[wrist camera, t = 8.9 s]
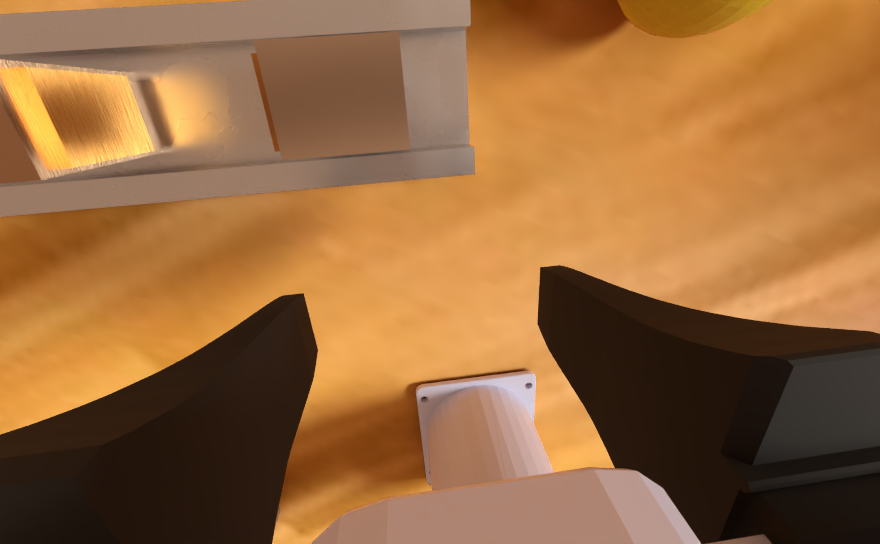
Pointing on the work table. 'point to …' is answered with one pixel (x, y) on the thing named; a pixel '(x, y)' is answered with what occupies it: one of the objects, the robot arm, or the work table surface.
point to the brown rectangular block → (333, 94)
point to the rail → (204, 101)
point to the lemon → (687, 15)
